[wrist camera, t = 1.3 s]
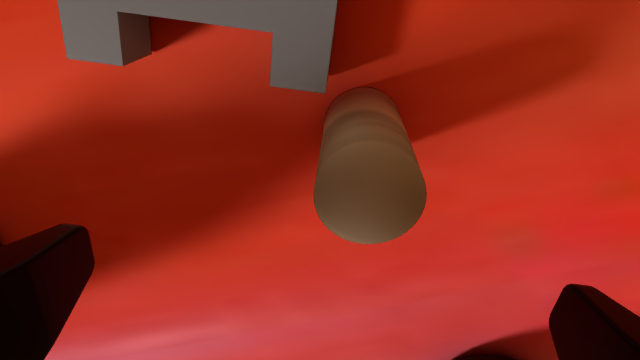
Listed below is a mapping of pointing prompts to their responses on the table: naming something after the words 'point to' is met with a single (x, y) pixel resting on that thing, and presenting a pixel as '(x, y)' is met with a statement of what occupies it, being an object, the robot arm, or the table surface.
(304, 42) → the block
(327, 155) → the dowel
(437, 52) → the table surface
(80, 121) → the table surface
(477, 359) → the cola bottle
